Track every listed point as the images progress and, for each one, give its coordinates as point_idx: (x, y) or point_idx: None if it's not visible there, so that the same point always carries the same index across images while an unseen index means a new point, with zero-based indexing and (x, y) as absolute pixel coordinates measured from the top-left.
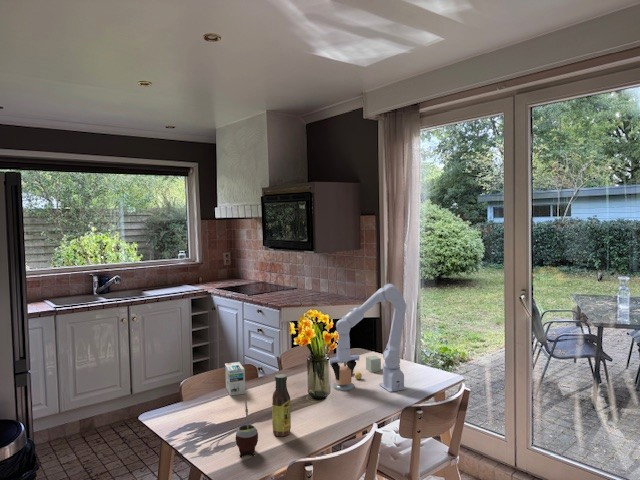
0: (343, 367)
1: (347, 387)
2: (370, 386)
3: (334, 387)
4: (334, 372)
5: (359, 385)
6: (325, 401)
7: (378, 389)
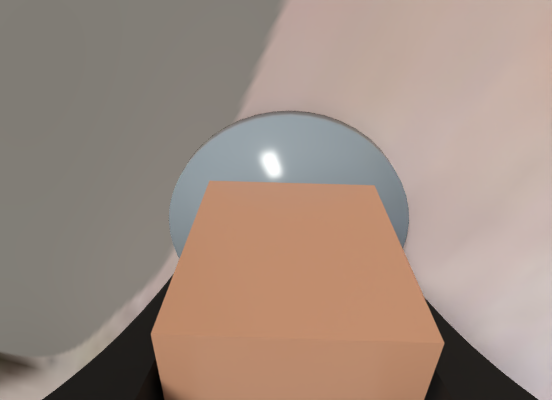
0: (330, 385)
1: None
2: (527, 300)
3: (173, 235)
4: (133, 329)
5: (458, 246)
6: (47, 385)
7: (526, 363)
